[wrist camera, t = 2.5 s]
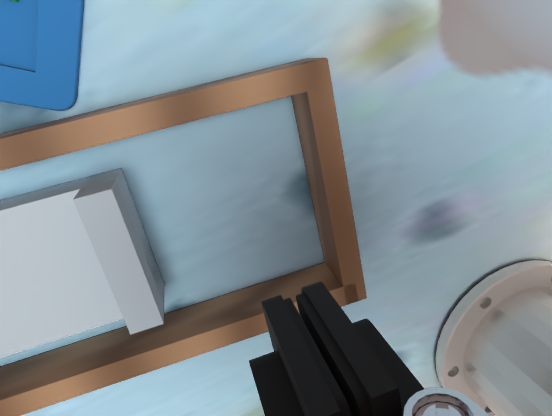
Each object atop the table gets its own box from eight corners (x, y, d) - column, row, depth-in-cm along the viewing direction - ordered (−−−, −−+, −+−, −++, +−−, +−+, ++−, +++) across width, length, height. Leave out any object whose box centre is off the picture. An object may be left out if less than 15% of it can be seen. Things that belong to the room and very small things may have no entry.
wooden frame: (307, 58, 22) (333, 57, 18) (346, 273, 26) (373, 305, 23) (-256, 197, 18) (-359, 229, 15) (-95, 417, 23) (-143, 482, 19)
